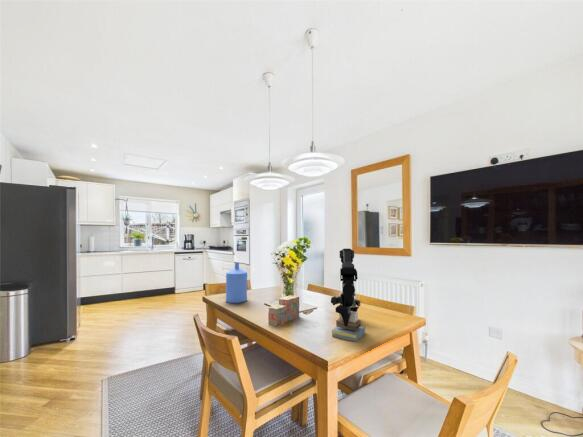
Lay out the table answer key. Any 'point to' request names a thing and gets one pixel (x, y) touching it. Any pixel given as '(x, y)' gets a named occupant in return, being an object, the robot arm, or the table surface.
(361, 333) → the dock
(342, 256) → the robot arm
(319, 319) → the table surface
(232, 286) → the water jug
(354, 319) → the off-white carton
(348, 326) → the pallet
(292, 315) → the stack of blocks
